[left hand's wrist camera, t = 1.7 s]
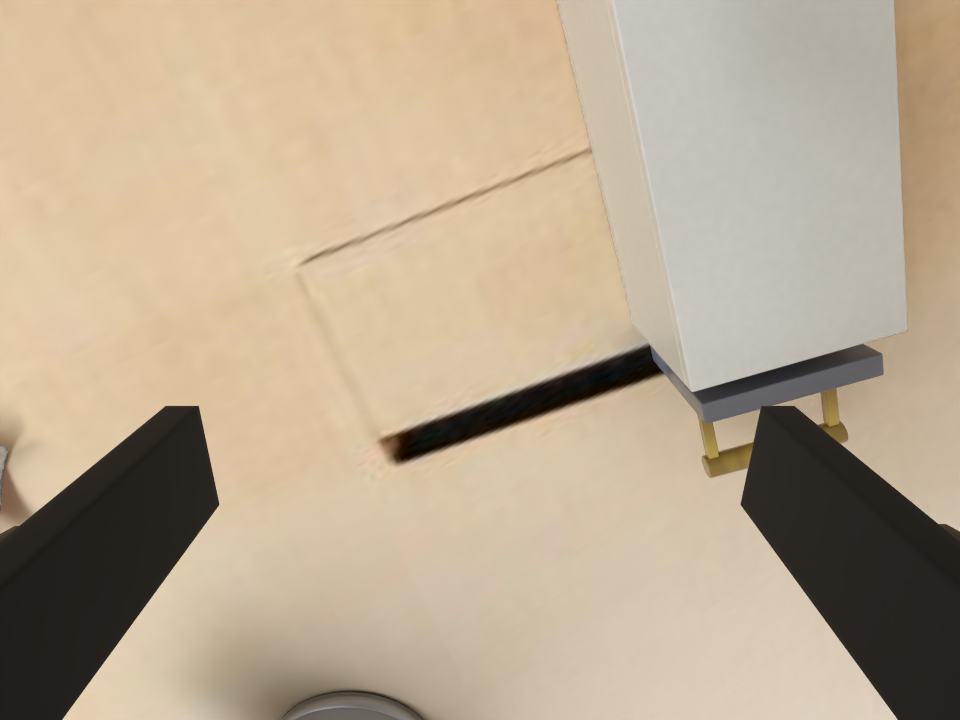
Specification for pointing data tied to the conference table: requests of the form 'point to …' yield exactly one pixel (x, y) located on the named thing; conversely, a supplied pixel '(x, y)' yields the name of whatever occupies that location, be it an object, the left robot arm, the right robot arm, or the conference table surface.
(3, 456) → the fish
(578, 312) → the conference table surface
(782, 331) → the cabinet
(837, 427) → the drawer
